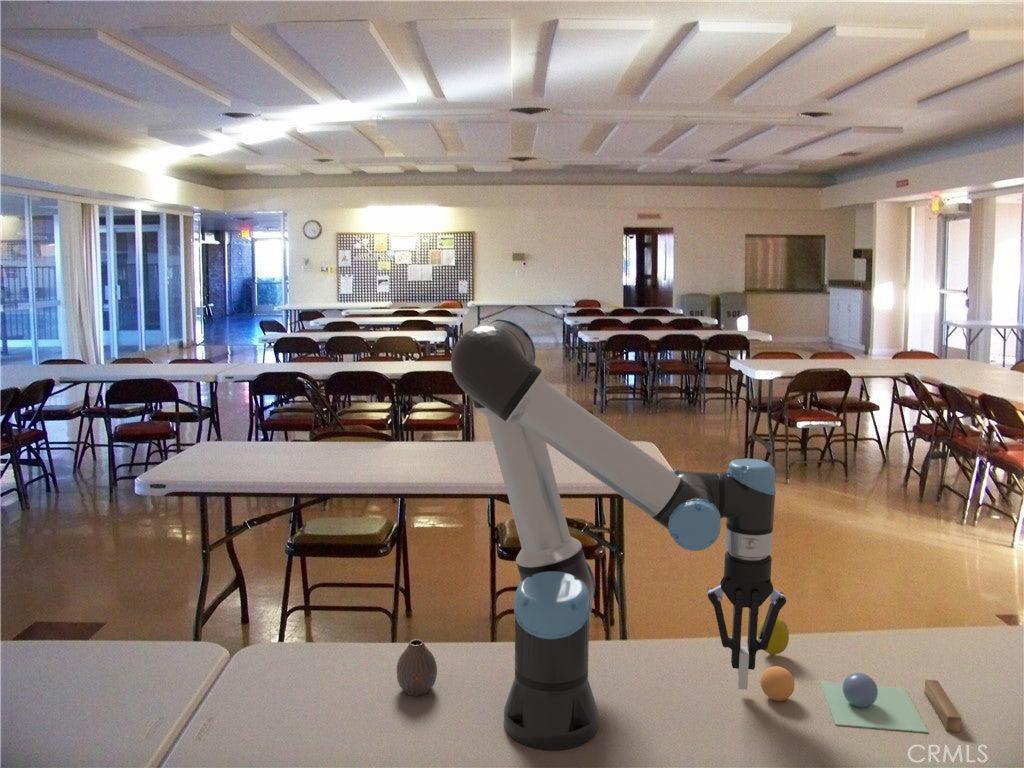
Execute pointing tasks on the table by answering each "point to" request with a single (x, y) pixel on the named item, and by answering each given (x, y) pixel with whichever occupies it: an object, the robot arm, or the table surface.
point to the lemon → (777, 637)
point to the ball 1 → (777, 683)
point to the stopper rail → (942, 706)
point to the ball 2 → (860, 690)
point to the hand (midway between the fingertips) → (742, 685)
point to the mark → (874, 709)
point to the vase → (416, 669)
